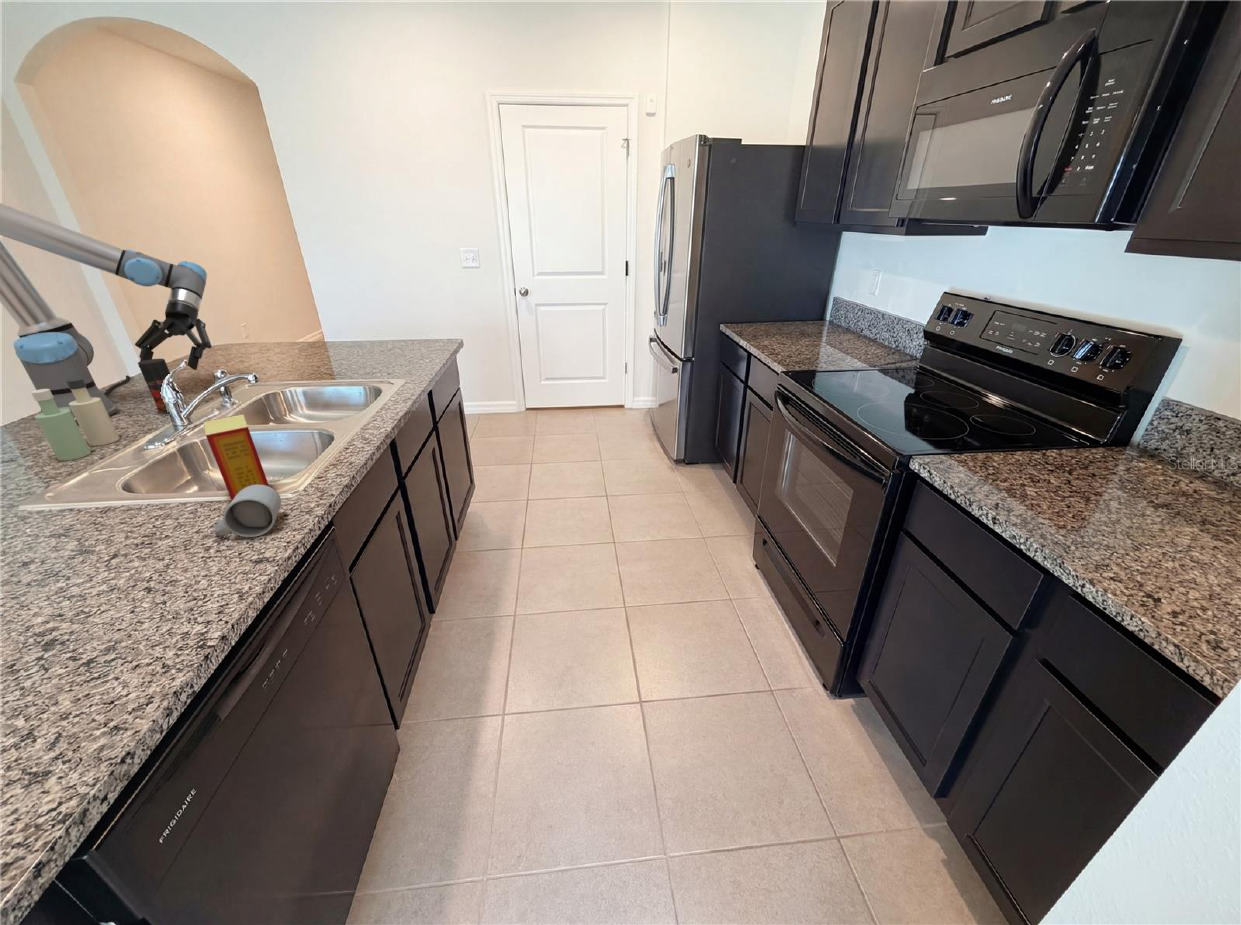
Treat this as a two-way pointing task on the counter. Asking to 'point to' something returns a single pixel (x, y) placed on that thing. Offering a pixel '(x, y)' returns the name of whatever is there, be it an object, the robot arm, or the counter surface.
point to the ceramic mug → (250, 512)
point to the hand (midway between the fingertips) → (167, 368)
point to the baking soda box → (235, 453)
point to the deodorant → (155, 379)
